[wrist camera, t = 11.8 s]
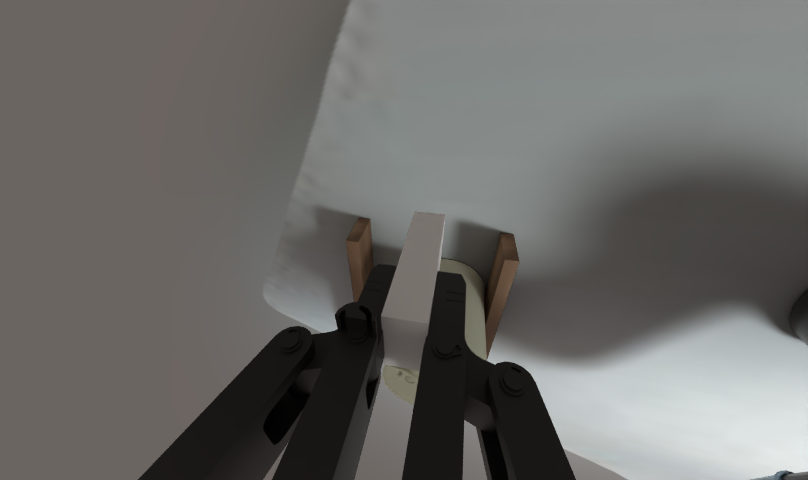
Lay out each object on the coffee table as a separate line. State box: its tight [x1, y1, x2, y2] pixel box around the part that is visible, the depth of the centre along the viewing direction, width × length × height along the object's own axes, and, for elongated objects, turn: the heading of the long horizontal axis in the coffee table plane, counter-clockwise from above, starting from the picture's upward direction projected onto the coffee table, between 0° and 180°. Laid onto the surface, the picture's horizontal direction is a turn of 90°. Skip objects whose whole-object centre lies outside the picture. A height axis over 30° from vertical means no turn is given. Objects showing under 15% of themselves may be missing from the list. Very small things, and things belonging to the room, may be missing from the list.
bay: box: [346, 218, 519, 358], centre depth 32 cm, size 15×17×4 cm
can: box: [383, 259, 487, 405], centre depth 29 cm, size 9×9×12 cm
